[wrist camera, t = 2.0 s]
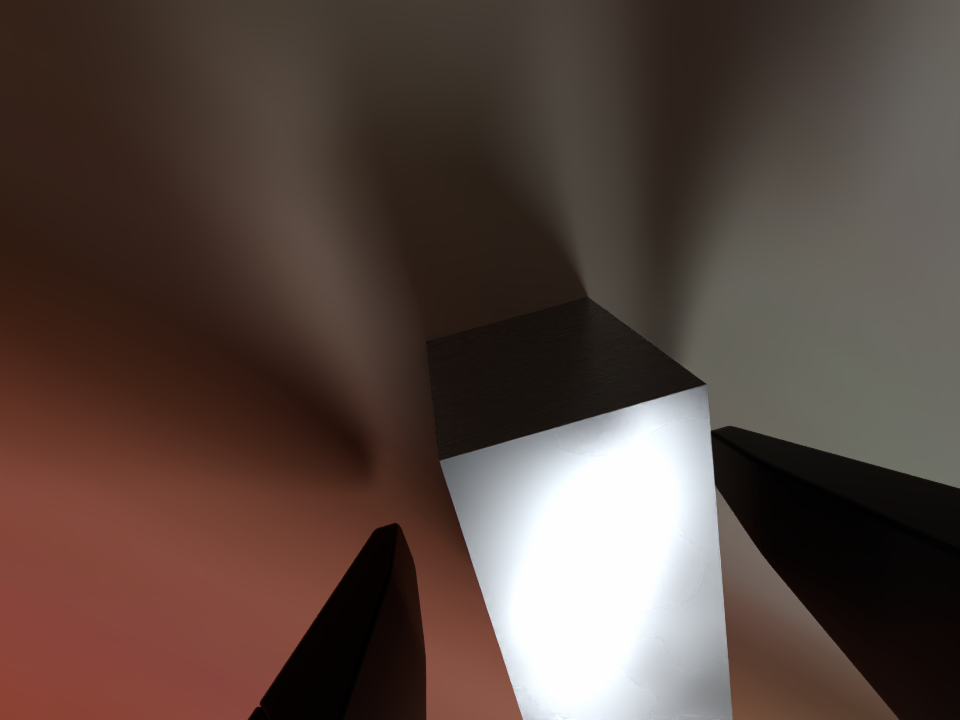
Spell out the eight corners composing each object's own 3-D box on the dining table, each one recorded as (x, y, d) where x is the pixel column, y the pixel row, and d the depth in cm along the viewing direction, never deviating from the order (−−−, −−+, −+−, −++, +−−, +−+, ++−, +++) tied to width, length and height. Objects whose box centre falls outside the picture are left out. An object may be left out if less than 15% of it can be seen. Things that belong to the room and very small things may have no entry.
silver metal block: (586, 295, 9) (707, 384, 6) (627, 546, 12) (733, 728, 8) (426, 339, 9) (439, 461, 5) (499, 585, 11) (545, 787, 8)
